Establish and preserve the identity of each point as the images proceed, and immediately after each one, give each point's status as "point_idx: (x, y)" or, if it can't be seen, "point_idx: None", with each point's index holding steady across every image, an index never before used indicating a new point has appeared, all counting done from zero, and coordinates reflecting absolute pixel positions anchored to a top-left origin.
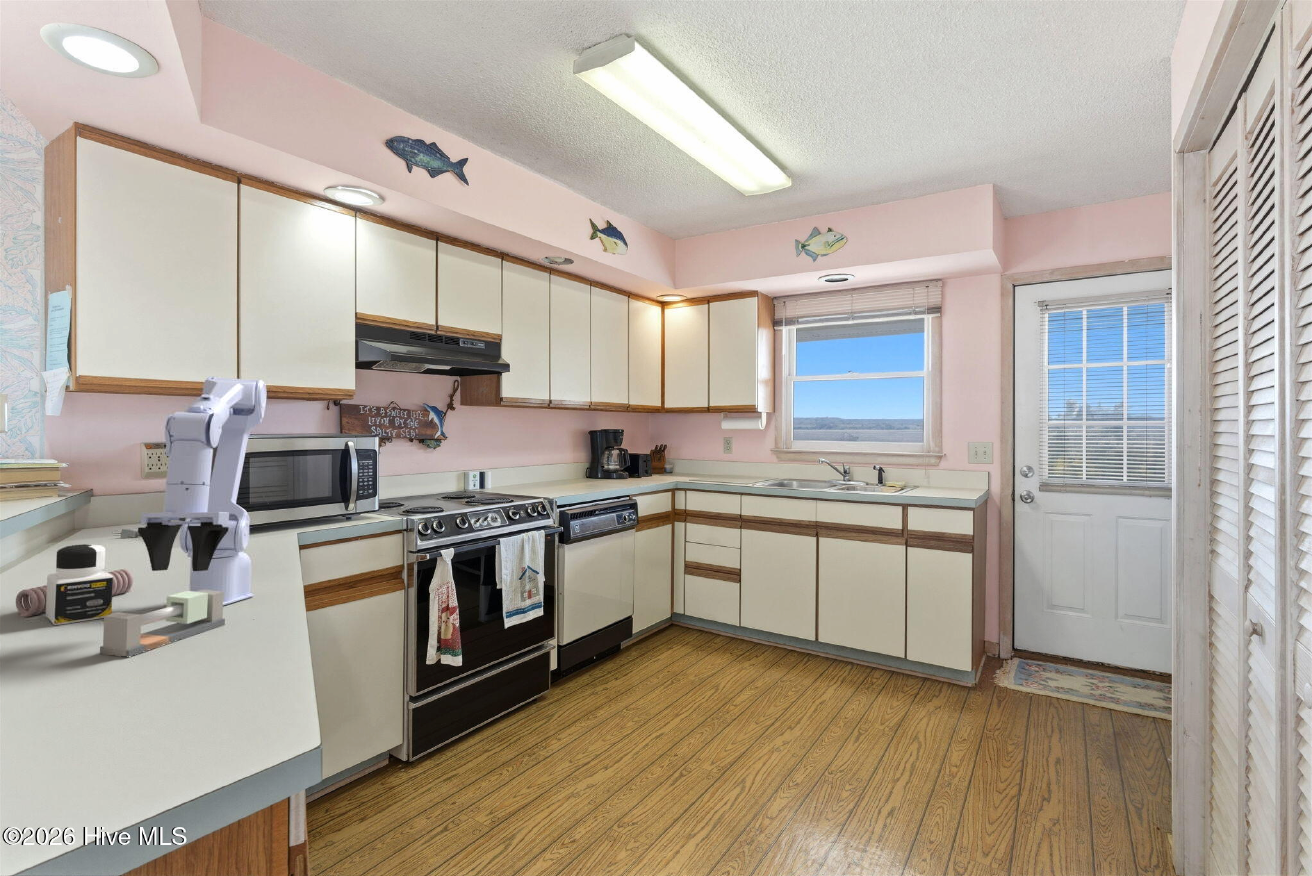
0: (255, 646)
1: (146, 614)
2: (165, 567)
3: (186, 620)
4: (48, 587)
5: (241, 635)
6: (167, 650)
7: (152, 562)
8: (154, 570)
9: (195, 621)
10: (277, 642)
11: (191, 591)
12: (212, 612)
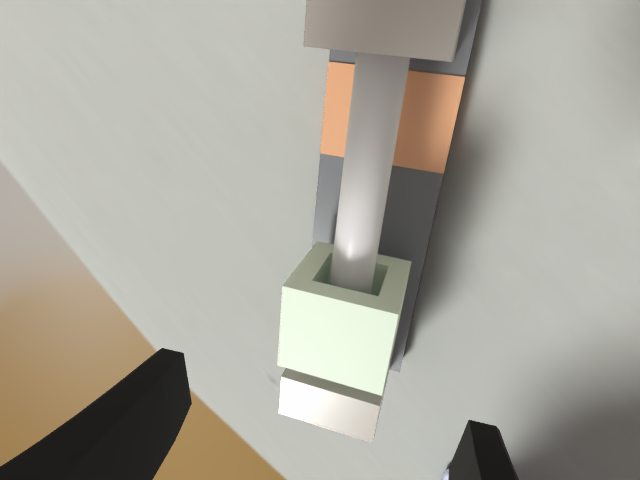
0: (100, 169)
1: (358, 133)
2: (453, 478)
3: (317, 246)
4: None
5: (198, 250)
6: (283, 91)
7: (494, 472)
8: (475, 422)
9: None
10: (81, 206)
11: (357, 387)
12: None
